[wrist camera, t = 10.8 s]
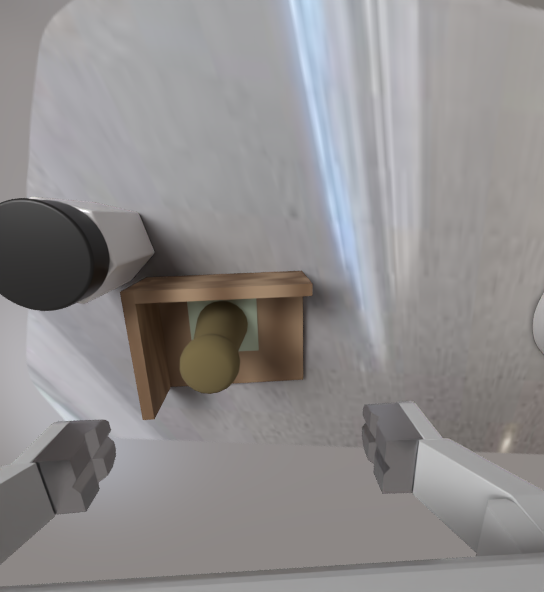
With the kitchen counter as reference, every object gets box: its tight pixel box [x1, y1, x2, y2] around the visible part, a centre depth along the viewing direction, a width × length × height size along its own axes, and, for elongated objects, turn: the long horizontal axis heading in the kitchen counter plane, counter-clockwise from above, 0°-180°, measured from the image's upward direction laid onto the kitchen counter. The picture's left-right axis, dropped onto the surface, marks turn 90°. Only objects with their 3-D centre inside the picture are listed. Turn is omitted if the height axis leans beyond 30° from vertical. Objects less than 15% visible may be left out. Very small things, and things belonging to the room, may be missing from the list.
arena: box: [120, 271, 312, 420], centre depth 32 cm, size 18×14×7 cm
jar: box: [0, 197, 154, 311], centre depth 26 cm, size 9×8×12 cm
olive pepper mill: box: [180, 301, 248, 394], centre depth 29 cm, size 6×6×11 cm
